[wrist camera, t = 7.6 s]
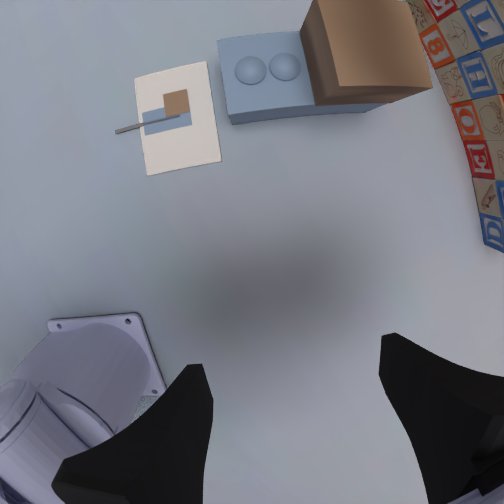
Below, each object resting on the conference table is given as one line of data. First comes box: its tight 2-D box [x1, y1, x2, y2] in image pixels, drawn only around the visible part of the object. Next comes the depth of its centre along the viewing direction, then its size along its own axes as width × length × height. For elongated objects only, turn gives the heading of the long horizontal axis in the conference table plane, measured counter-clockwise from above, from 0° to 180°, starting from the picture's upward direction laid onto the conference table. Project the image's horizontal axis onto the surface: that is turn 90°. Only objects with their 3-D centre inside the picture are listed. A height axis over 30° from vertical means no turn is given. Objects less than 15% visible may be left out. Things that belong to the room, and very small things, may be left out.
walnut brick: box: [299, 0, 433, 107], centre depth 12 cm, size 4×4×4 cm
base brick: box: [217, 31, 387, 125], centre depth 16 cm, size 9×4×4 cm, turn 99°
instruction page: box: [115, 61, 222, 176], centre depth 18 cm, size 7×7×1 cm
